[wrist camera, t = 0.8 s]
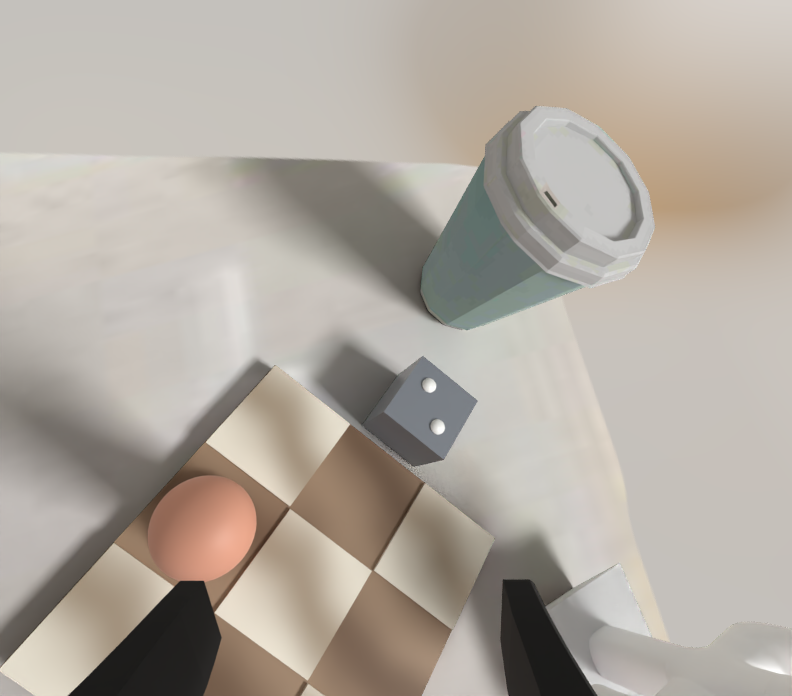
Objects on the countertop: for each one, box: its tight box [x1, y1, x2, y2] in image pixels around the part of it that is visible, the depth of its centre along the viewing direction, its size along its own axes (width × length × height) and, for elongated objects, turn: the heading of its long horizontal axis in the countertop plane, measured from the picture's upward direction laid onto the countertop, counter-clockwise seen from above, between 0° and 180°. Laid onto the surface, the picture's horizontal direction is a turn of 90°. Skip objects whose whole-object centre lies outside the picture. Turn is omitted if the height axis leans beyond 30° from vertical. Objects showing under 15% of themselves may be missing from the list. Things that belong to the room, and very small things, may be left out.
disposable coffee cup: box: [420, 106, 655, 330], centre depth 29 cm, size 11×11×15 cm
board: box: [0, 365, 495, 696], centre depth 24 cm, size 18×18×1 cm
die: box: [362, 356, 477, 467], centre depth 28 cm, size 4×4×5 cm
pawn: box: [148, 475, 257, 582], centre depth 19 cm, size 4×4×9 cm
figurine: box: [545, 563, 792, 696], centre depth 23 cm, size 7×9×15 cm
